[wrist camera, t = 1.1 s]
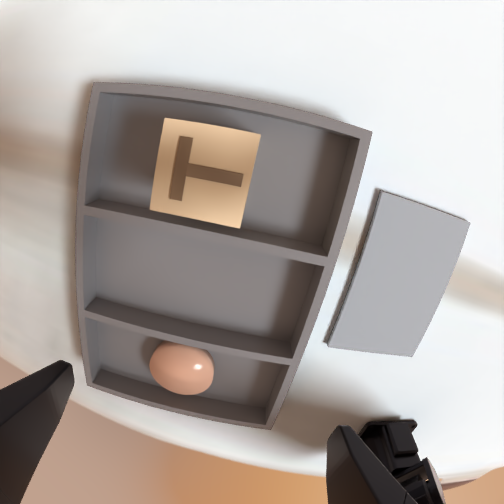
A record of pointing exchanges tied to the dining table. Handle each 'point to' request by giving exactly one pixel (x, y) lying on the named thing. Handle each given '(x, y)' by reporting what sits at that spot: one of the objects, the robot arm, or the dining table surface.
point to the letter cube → (204, 171)
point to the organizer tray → (208, 250)
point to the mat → (398, 277)
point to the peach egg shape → (182, 368)
